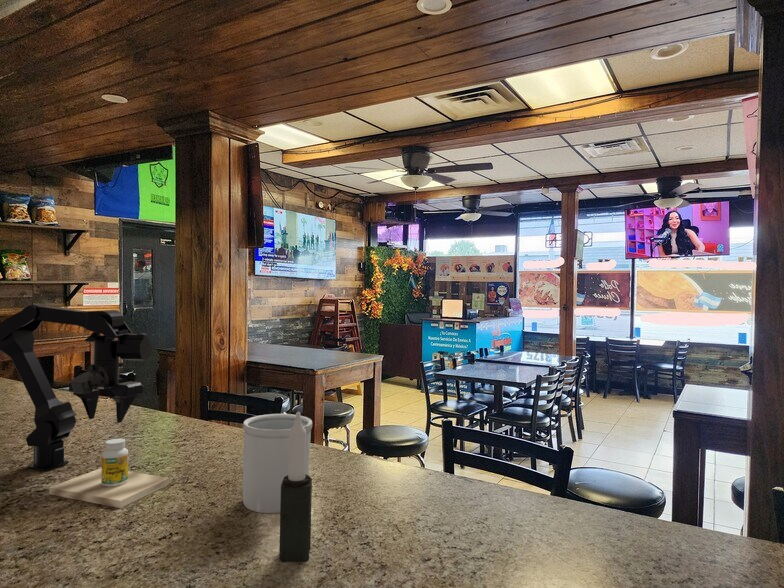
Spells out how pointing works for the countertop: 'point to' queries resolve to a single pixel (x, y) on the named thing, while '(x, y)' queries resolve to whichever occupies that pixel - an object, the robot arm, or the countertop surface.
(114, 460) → the supplement bottle
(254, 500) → the utensil holder
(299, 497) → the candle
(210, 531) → the countertop surface
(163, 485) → the serving board
